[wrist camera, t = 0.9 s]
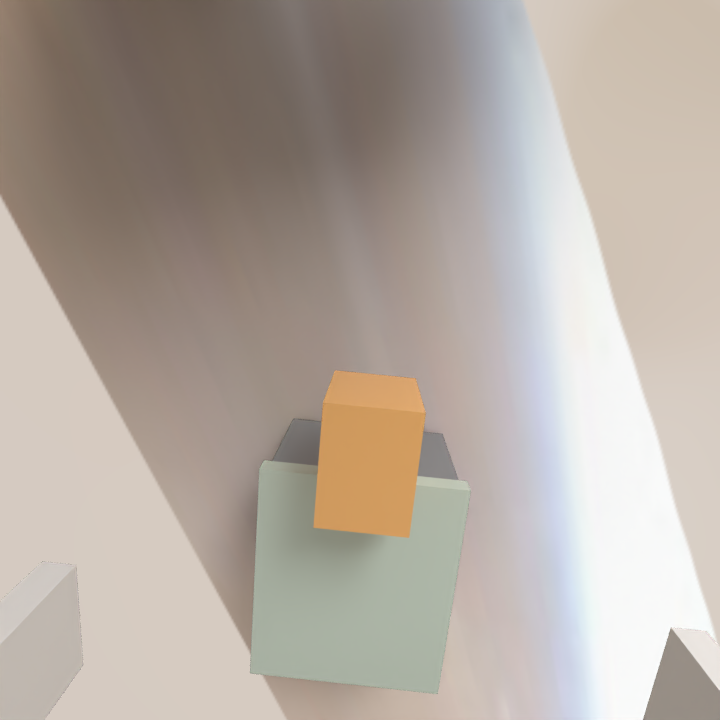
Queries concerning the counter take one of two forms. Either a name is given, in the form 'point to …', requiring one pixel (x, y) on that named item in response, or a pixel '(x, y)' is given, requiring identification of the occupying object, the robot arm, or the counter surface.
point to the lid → (358, 547)
